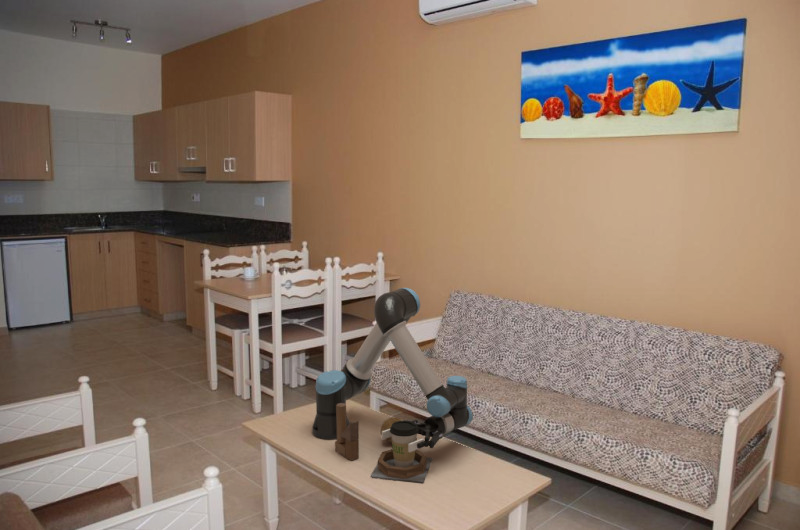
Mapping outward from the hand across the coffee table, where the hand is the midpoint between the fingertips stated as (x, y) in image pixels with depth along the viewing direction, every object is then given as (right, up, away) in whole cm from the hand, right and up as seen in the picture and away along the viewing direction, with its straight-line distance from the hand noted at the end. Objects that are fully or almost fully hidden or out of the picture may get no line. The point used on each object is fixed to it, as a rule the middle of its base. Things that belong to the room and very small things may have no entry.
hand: (395, 441), depth 207 cm
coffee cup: (+3, -10, +3) cm, 11 cm away
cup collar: (+2, -10, +4) cm, 11 cm away
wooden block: (-18, -9, +14) cm, 24 cm away
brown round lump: (-1, -8, +24) cm, 25 cm away
